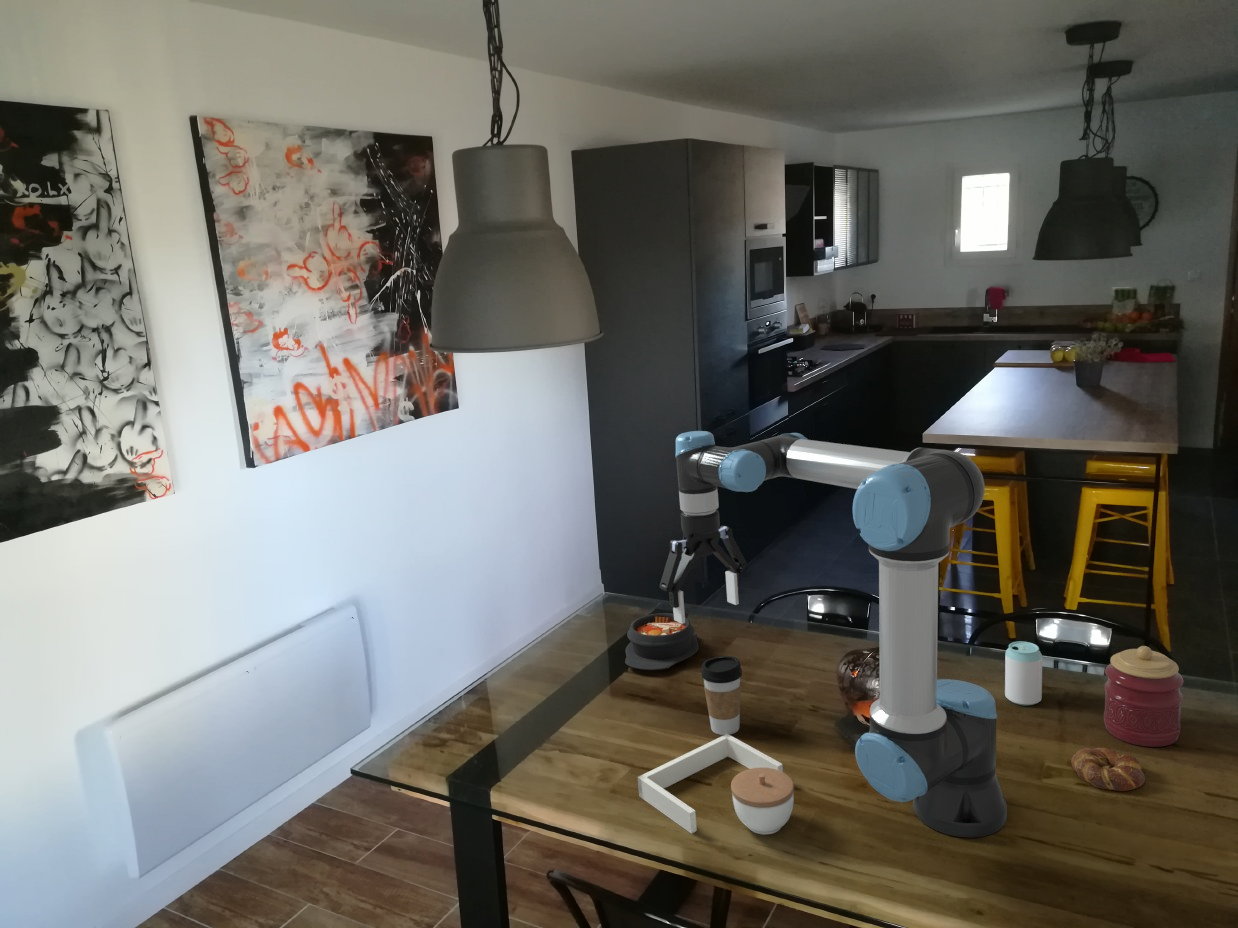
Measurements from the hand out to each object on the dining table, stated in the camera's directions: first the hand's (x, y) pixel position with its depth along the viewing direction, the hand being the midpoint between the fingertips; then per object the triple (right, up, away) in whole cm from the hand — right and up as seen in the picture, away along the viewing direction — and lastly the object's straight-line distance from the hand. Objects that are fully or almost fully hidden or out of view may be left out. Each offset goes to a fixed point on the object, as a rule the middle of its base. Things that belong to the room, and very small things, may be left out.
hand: (706, 612), depth 180 cm
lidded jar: (+8, -33, -24) cm, 42 cm away
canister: (+84, -22, -6) cm, 87 cm away
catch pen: (0, -31, -13) cm, 34 cm away
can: (+68, -20, +10) cm, 72 cm away
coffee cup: (+5, -26, +9) cm, 28 cm away
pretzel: (+70, -27, -18) cm, 77 cm away
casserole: (-7, -19, +47) cm, 51 cm away
